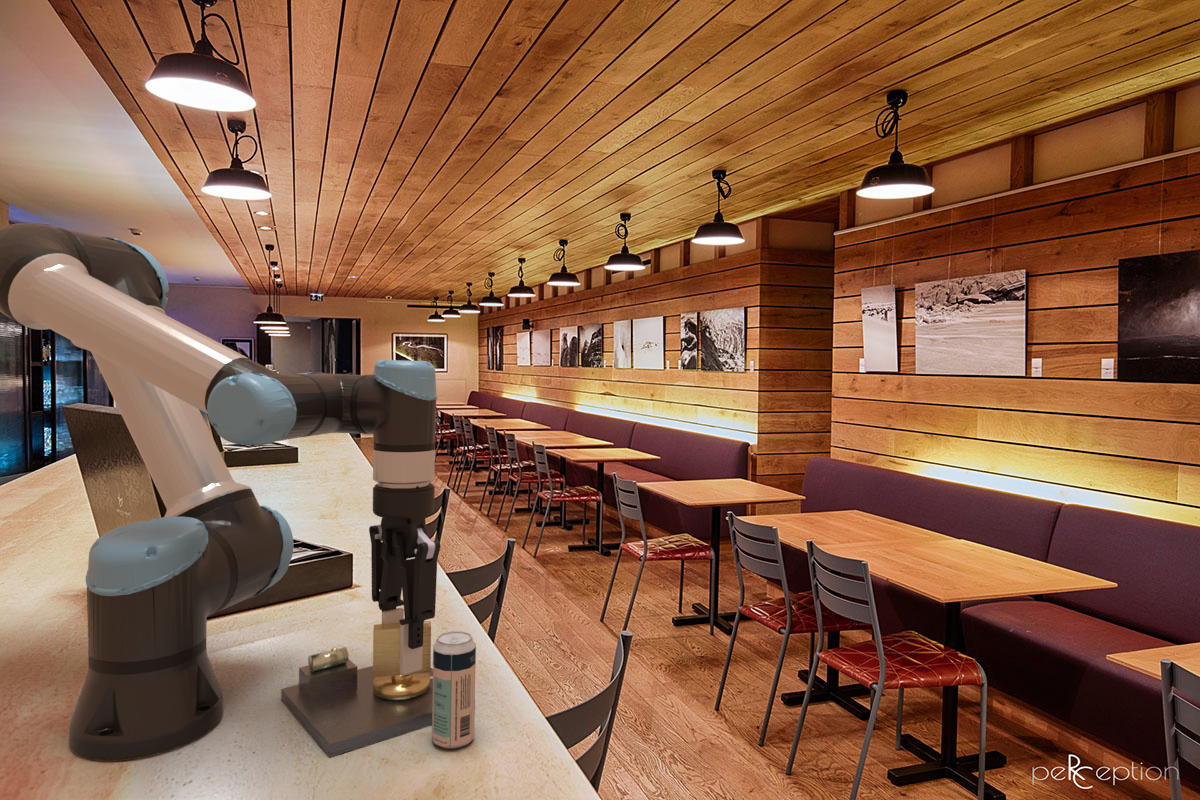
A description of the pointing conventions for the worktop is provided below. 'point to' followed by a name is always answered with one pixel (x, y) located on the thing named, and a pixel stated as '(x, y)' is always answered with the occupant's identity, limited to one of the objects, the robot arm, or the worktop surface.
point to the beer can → (453, 690)
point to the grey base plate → (350, 705)
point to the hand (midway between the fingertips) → (401, 665)
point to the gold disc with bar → (398, 664)
